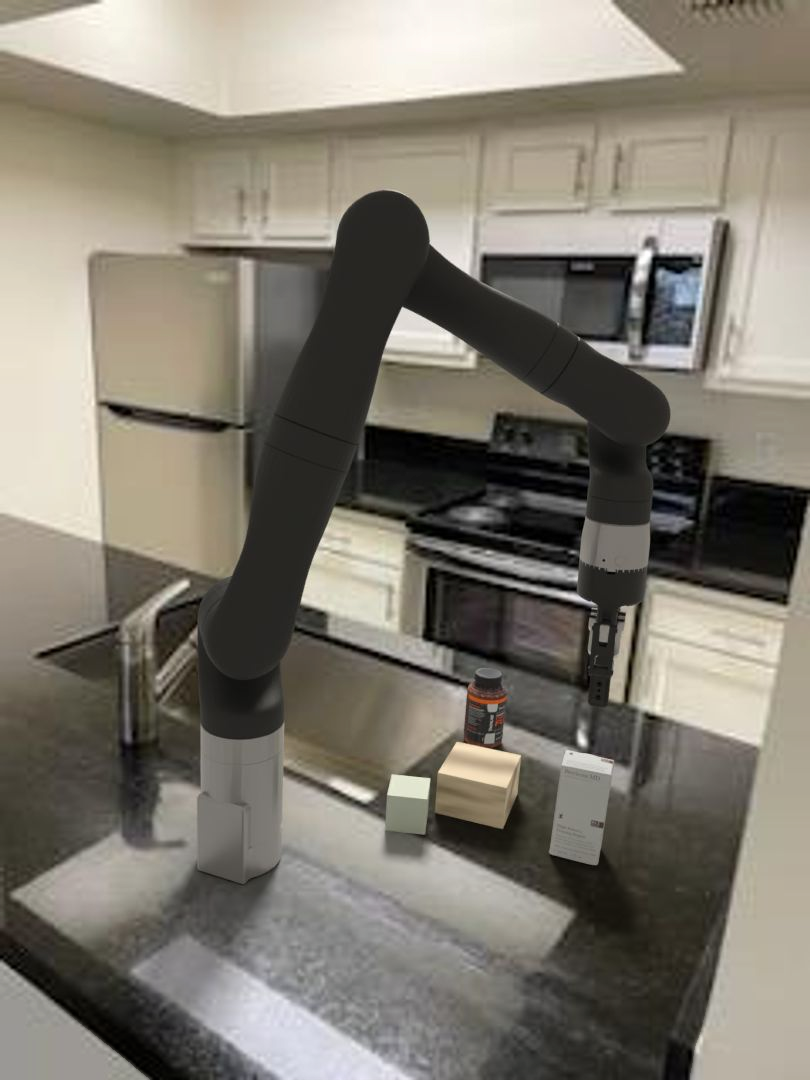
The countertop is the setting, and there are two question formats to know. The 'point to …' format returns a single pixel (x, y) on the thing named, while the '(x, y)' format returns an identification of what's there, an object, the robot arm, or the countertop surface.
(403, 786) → the sage block
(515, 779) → the maple block
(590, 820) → the skincare box
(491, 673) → the supplement bottle
